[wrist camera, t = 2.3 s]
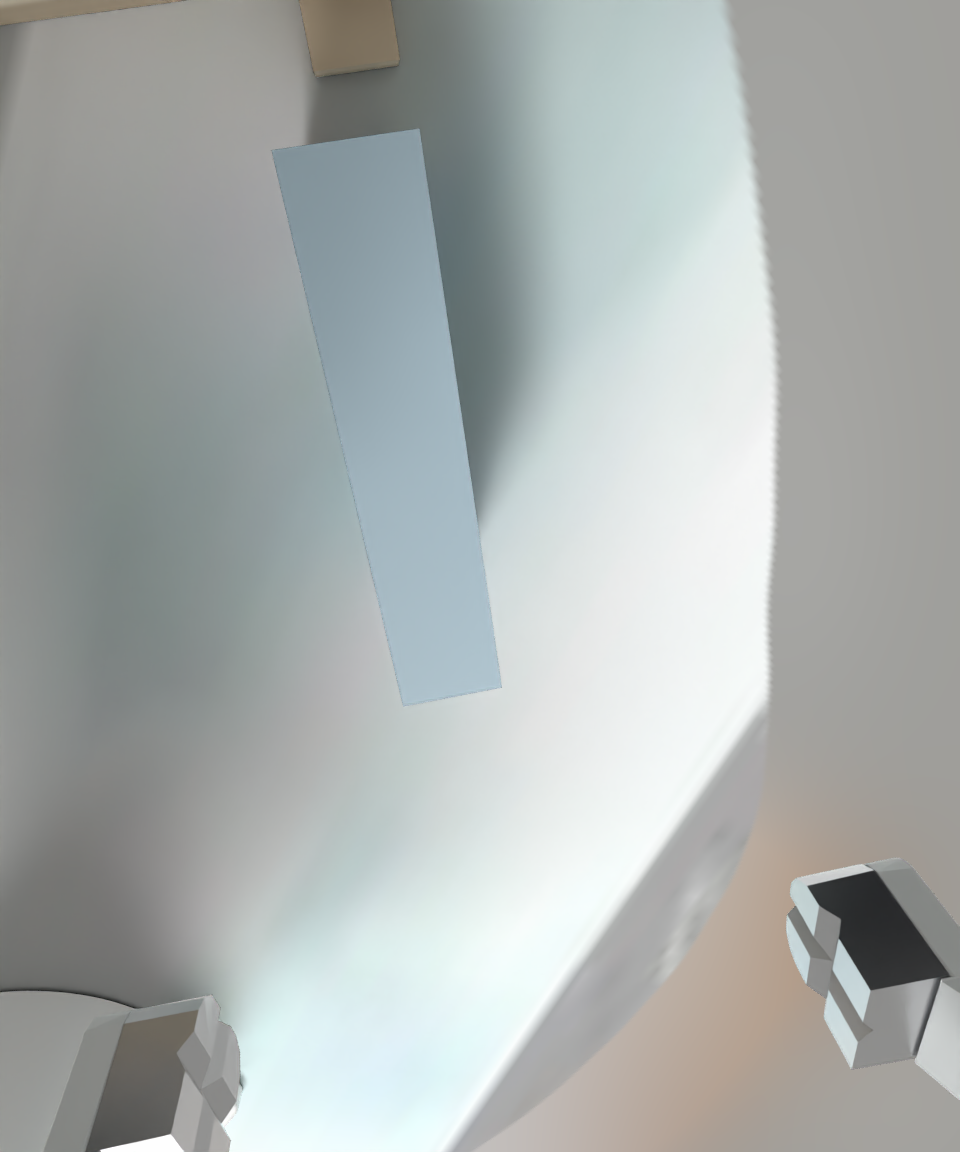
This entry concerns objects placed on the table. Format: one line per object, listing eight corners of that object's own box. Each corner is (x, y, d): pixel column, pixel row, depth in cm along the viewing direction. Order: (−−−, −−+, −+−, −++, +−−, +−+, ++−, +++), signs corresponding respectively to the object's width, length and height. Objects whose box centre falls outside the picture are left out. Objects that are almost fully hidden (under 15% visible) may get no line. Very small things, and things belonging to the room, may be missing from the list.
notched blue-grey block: (467, 560, 24) (501, 687, 18) (394, 574, 24) (403, 706, 18) (401, 148, 18) (419, 128, 12) (303, 162, 18) (271, 150, 12)
